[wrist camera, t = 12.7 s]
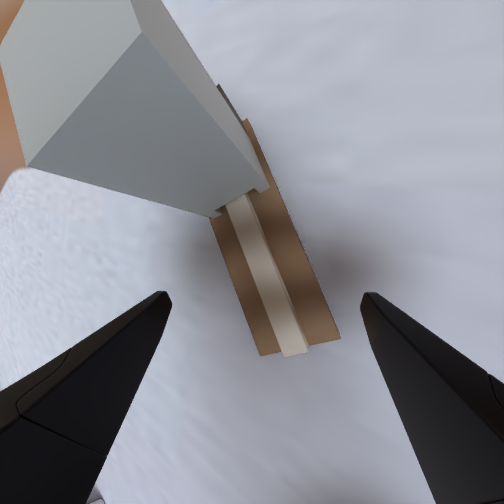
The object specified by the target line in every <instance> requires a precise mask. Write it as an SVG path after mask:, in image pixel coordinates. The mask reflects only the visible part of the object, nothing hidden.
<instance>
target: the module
mask: <svg viewBox="0 0 504 504" xmlns="http://www.w3.org/2000/svg"><path fill="white" fill-rule="evenodd" d="M0 63H1V67H2V71H3V75H4V79H5V83H6V87H7V91H8V95H9V99H10V103H11V107H12V111H13V115H14V118H15V122H16V127H17V131H18V134H19V138H20V142H21V146H22V150H23V154H24V158H25V162H26V166H28V167H31V168H35V169H38V170H42V171H45V172H49V173H53V174H56V175H60V176H63V177H67V178H71V179H74V180H78V181H81V182H85V183H88V184H92V185H96V186H99V187H103V188H106V189H110V190H114V191H117V192H121V193H124V194H128V195H131V196H135V197H139V198H142V199H146V200H149V201H153V202H157V203H160V204H164V205H167V206H171V207H175V208H178V209H182V210H185V211H189V212H192V213H196V214H200V215H203V216H207V217H210V218H216V217H218V216H220V215H222V214H223V213H222V211H221V208H220V207H222V206H224V205H225V204H227V203H229V202H231V201H232V200H234V199H236V198H238V197H239V196H241V195H243V194H245V193H246V192H248V191H250V190H252V189H256V190H257V191H258V192H259V193H262V192H263V191H265V190H267V189H269V188H270V186H269V184H268V181H267V179H266V177H265V174H264V172H263V169H262V167H261V165H260V162H259V160H258V158H257V155H256V153H255V150H254V148H253V146H252V143H251V141H250V139H249V137H248V135H247V134H246V132H245V131H244V129H243V127H242V126H241V124H240V123H239V121H238V120H237V118H236V116H235V115H234V113H233V112H232V110H231V109H230V107H229V106H228V104H227V102H226V101H225V99H224V98H223V96H222V95H221V93H220V92H219V90H218V88H217V87H216V85H215V84H214V82H213V81H212V79H211V77H210V76H209V74H208V73H207V71H206V70H205V68H204V67H203V65H202V63H201V62H200V60H199V59H198V57H197V56H196V54H195V53H194V51H193V49H192V48H191V46H190V45H189V43H188V42H187V40H186V38H185V37H184V35H183V34H182V32H181V31H180V29H179V28H178V26H177V24H176V23H175V21H174V20H173V18H172V17H171V15H170V14H169V12H168V10H167V9H166V7H165V6H164V4H163V3H162V1H161V0H25V1H24V3H23V5H22V7H21V8H20V10H19V12H18V14H17V16H16V18H15V19H14V21H13V23H12V25H11V27H10V29H9V30H8V32H7V34H6V36H5V38H4V40H3V41H2V44H1V45H0Z"/></svg>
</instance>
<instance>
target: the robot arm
mask: <svg viewBox="0 0 504 504" xmlns="http://www.w3.org/2000/svg"><path fill="white" fill-rule="evenodd" d="M171 308H172V302H171V300H170V298H169V295H168V293H167V292H166V291H157V292H155V293H154V294H152V295H151V296H149V297H147V298H146V299H144V300H143V301H141V302H140V303H138V304H137V305H135V306H134V307H132V308H131V309H129V310H128V311H126V312H125V313H123V314H122V315H120V316H118V317H117V318H115V319H114V320H112V321H111V322H109V323H108V324H106V325H105V326H103V327H102V328H100V329H99V330H97V331H96V332H94V333H93V334H91V335H90V336H88V337H86V338H85V339H83V340H82V341H80V342H79V343H77V344H76V345H74V346H73V347H72V348H70V349H68V350H67V351H65V352H64V353H62V354H61V355H59V356H57V357H56V358H54V359H53V360H51V361H50V362H48V363H46V364H45V365H43V366H42V367H40V368H38V369H37V370H35V371H34V372H32V373H30V374H29V375H27V376H25V377H24V378H22V379H20V380H19V381H17V382H15V383H14V384H12V385H10V386H9V387H7V388H5V389H4V390H2V391H0V504H86V502H87V500H88V498H89V495H90V493H91V491H92V489H93V487H94V484H95V482H96V480H97V478H98V476H99V474H100V471H101V469H102V467H103V465H104V463H105V460H106V458H107V455H108V453H109V451H110V449H111V447H112V445H113V442H114V440H115V438H116V436H117V434H118V432H119V429H120V427H121V425H122V423H123V421H124V418H125V416H126V414H127V412H128V410H129V407H130V405H131V403H132V401H133V399H134V396H135V394H136V392H137V390H138V388H139V385H140V383H141V381H142V379H143V377H144V374H145V372H146V370H147V368H148V366H149V364H150V361H151V359H152V357H153V355H154V353H155V350H156V348H157V346H158V344H159V342H160V339H161V337H162V334H163V332H164V329H165V326H166V323H167V320H168V317H169V314H170V311H171ZM360 310H361V314H362V318H363V321H364V324H365V328H366V331H367V335H368V338H369V341H370V345H371V348H372V350H373V353H374V355H375V358H376V360H377V362H378V365H379V367H380V370H381V372H382V375H383V377H384V379H385V382H386V384H387V387H388V389H389V391H390V394H391V396H392V399H393V401H394V403H395V406H396V408H397V411H398V413H399V416H400V418H401V420H402V423H403V425H404V428H405V430H406V432H407V435H408V437H409V440H410V442H411V444H412V447H413V449H414V452H415V454H416V457H417V459H418V461H419V464H420V466H421V469H422V471H423V473H424V476H425V478H426V481H427V483H428V485H429V488H430V490H431V493H432V495H433V498H434V500H435V502H436V504H504V383H502V382H501V381H499V380H498V379H497V378H495V377H494V376H492V375H491V374H488V373H487V371H485V370H484V369H482V368H481V367H480V366H478V365H477V364H476V363H474V362H473V361H471V360H470V359H469V358H467V357H466V356H464V355H463V354H462V353H460V352H459V351H457V350H456V349H455V348H453V347H452V346H450V345H449V344H448V343H446V342H445V341H443V340H442V339H441V338H439V337H438V336H436V335H435V334H434V333H432V332H431V331H430V330H428V329H427V328H425V327H424V326H423V325H421V324H420V323H418V322H417V321H416V320H414V319H413V318H411V317H410V316H409V315H407V314H406V313H404V312H403V311H402V310H400V309H399V308H397V307H396V306H395V305H393V304H392V303H390V302H389V301H388V300H386V299H385V298H384V297H382V296H381V295H379V294H378V293H376V292H366V293H364V295H363V299H362V302H361V305H360Z"/></svg>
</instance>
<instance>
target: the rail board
mask: <svg viewBox="0 0 504 504" xmlns="http://www.w3.org/2000/svg"><path fill="white" fill-rule="evenodd" d="M216 87H217V88H218V90H219V92H220V93H221V95H222V96H223V98H224V99H225V101H226V102H227V104H228V106H229V107H230V109H231V110H232V112H233V113H234V115H235V116H236V118H237V120H238V121H239V123H240V124H241V126H242V127H243V129H244V131H245V132H246V134H247V135H248V137H249V139H250V141H251V143H252V146H253V148H254V150H255V153H256V155H257V158H258V160H259V162H260V165H261V167H262V169H263V172H264V174H265V177H266V179H267V181H268V184H269V186H270V188H269V189H267V190H265V191H263V192H262V193H259V192H258V191H257V190H256V189H252V190H250V191H248V192H246V193H245V194H243V195H241V196H239V197H238V198H236V199H234V200H232V201H231V202H229V203H227V204H225V205H224V206H222V207H220V208H221V211H222V213H223V214H222V215H220V216H218V217H216V218H210V217H209V219H210V222H211V225H212V228H213V230H214V233H215V236H216V238H217V241H218V244H219V247H220V249H221V252H222V255H223V257H224V260H225V263H226V265H227V268H228V271H229V274H230V276H231V279H232V282H233V284H234V287H235V290H236V293H237V295H238V298H239V301H240V303H241V306H242V309H243V311H244V314H245V317H246V320H247V322H248V325H249V328H250V330H251V333H252V336H253V339H254V341H255V344H256V347H257V349H258V352H259V355H260V356H263V355H268V354H273V353H277V352H282V354H283V356H284V357H288V356H293V355H297V354H302V353H307V352H308V351H309V346H310V345H314V344H319V343H324V342H328V341H333V340H338V339H341V338H340V333H339V331H338V328H337V326H336V324H335V321H334V319H333V317H332V314H331V312H330V310H329V307H328V305H327V303H326V300H325V298H324V296H323V293H322V291H321V289H320V286H319V284H318V282H317V279H316V277H315V274H314V272H313V270H312V267H311V265H310V263H309V260H308V258H307V256H306V253H305V251H304V249H303V246H302V244H301V242H300V239H299V237H298V235H297V232H296V230H295V228H294V225H293V223H292V220H291V218H290V216H289V213H288V211H287V209H286V206H285V204H284V202H283V199H282V197H281V195H280V192H279V190H278V188H277V185H276V183H275V181H274V178H273V176H272V174H271V171H270V169H269V166H268V164H267V162H266V159H265V157H264V155H263V152H262V150H261V148H260V145H259V143H258V141H257V138H256V136H255V134H254V131H253V129H252V127H251V124H250V123H249V121H248V119H247V118H246V119H245V120H244V121H242V120H241V119H240V117H239V116H238V114H237V112H236V111H235V109H234V107H233V106H232V104H231V103H230V101H229V99H228V98H227V96H226V94H225V93H224V91H223V90H222V88H221V86H220V85H219V84H218V85H217V86H216Z"/></svg>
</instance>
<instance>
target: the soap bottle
mask: <svg viewBox="0 0 504 504" xmlns="http://www.w3.org/2000/svg"><path fill="white" fill-rule="evenodd" d="M89 504H104V501H103V500H102V499H99V500H96V501H94V502H92V503H89Z"/></svg>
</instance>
